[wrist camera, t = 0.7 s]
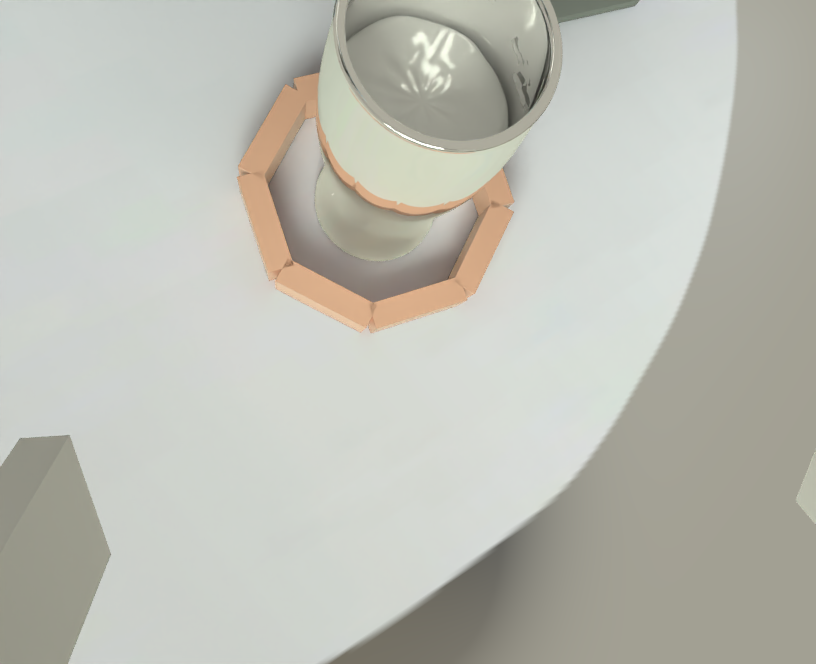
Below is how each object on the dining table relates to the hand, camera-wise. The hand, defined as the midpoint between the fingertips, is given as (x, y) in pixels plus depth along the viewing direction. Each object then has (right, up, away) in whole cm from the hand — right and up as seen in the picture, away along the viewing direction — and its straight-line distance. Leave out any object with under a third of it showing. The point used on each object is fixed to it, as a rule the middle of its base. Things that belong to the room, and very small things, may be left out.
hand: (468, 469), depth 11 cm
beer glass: (-3, +9, +21) cm, 23 cm away
